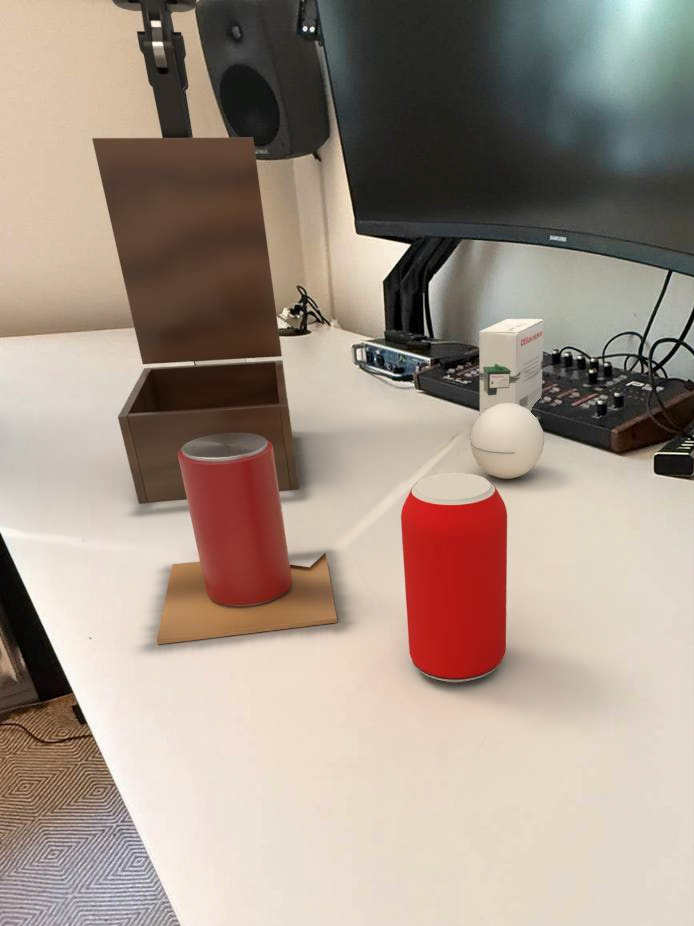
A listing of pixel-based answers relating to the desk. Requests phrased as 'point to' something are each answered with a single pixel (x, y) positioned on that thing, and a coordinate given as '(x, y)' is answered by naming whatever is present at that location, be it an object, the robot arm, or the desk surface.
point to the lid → (191, 246)
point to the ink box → (511, 363)
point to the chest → (203, 420)
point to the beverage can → (455, 576)
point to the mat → (206, 618)
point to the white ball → (507, 440)
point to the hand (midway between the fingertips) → (196, 242)
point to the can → (236, 517)
